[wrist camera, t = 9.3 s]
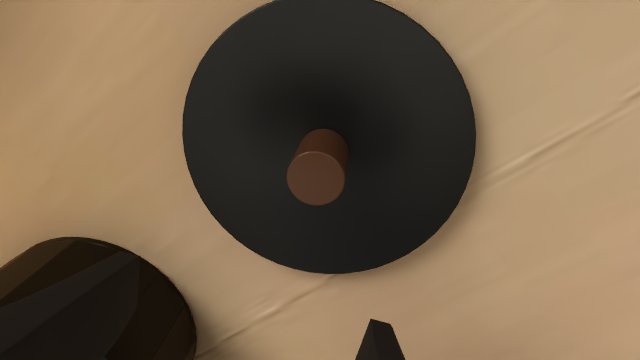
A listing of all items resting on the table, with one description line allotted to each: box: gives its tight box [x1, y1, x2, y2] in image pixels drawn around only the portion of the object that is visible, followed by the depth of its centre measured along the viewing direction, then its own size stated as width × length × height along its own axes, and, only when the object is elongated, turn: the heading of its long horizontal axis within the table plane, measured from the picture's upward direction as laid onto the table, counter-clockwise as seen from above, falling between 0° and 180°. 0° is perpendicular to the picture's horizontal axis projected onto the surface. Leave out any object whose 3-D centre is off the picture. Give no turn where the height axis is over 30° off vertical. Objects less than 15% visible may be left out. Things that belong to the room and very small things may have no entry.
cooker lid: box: [182, 0, 476, 274], centre depth 19 cm, size 14×14×4 cm
